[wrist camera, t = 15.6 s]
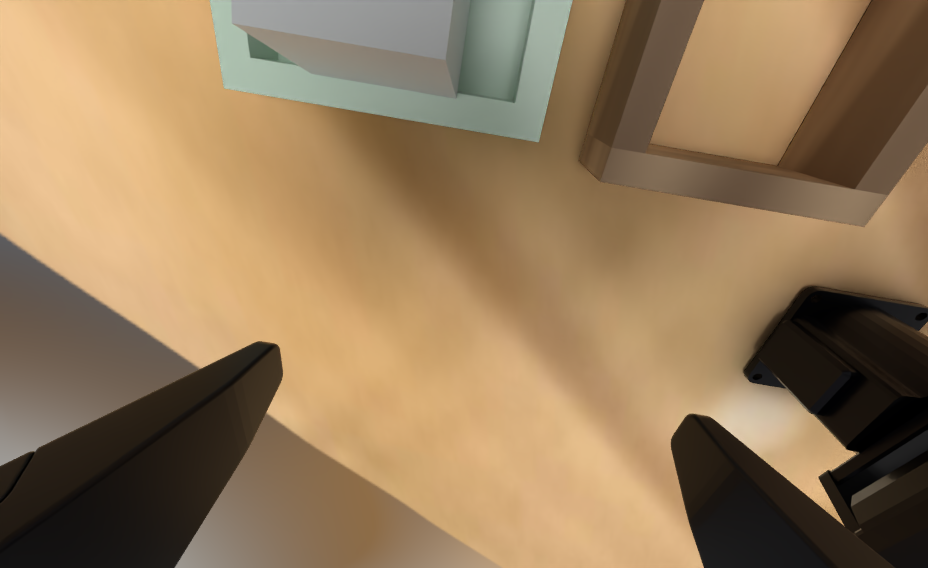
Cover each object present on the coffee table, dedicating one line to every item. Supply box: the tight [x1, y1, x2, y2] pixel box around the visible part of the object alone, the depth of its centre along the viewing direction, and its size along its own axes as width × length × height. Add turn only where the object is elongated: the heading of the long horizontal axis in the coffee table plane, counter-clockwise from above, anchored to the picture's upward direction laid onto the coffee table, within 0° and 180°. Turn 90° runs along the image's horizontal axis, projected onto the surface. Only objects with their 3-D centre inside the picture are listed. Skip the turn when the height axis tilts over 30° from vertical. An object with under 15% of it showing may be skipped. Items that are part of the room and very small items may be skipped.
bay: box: [579, 0, 928, 227], centre depth 13 cm, size 10×8×4 cm
